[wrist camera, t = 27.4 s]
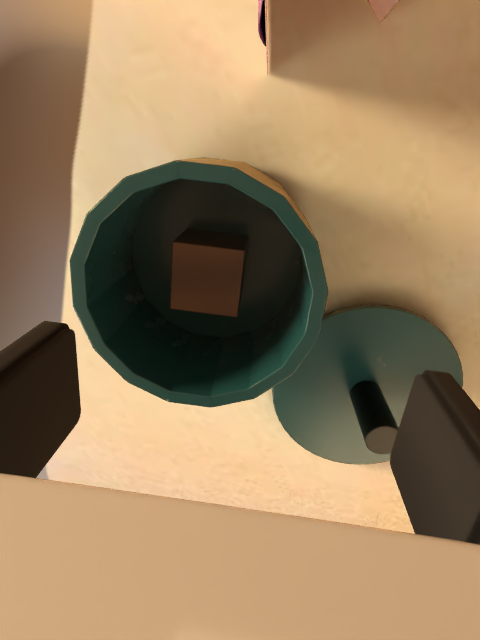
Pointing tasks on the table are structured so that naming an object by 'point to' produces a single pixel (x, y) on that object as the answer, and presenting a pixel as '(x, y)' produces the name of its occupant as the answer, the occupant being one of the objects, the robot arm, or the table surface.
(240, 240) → the block
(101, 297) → the pot
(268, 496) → the table surface
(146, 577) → the robot arm
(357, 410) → the lid
